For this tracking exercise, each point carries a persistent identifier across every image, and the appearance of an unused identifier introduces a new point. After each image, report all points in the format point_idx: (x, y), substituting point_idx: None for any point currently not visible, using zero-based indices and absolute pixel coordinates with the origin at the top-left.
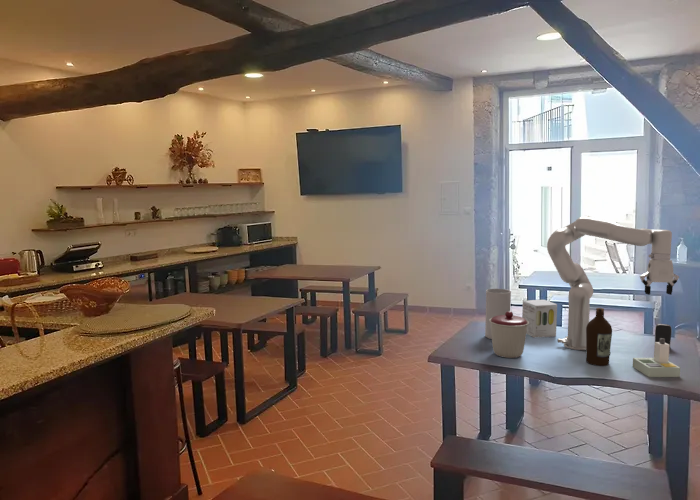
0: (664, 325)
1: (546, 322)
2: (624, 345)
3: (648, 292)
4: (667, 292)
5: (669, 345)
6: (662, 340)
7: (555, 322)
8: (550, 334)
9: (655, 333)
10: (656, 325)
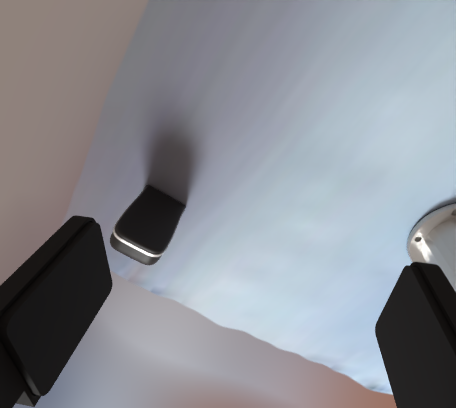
0: (135, 241)
1: None
2: (276, 229)
3: (444, 298)
4: (101, 278)
5: (146, 188)
6: None
7: None
8: None
9: (173, 232)
10: (160, 254)
